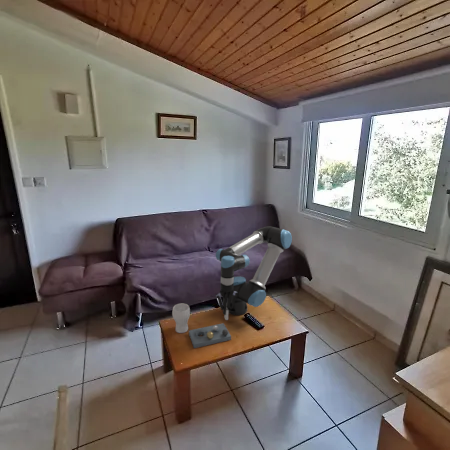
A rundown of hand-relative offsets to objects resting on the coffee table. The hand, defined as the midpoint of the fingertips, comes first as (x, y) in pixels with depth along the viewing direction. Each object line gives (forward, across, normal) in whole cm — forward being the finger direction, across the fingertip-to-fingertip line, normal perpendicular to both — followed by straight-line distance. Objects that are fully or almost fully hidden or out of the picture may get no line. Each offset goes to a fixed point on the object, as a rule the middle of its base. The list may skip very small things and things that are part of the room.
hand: (226, 318), depth 165 cm
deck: (+10, +10, +1) cm, 14 cm away
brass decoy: (+5, +12, +5) cm, 14 cm away
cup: (+10, +24, -12) cm, 29 cm away
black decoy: (+5, +3, +5) cm, 8 cm away
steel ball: (+5, +7, 0) cm, 8 cm away
